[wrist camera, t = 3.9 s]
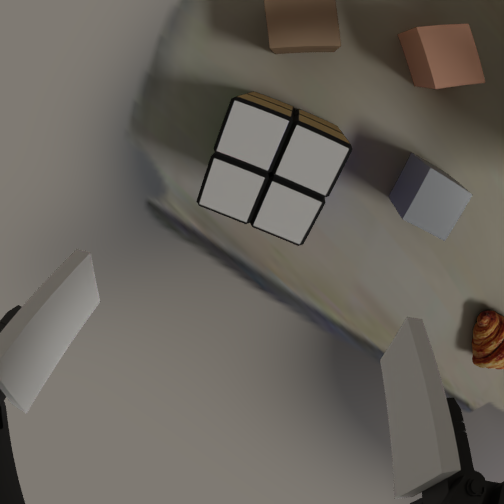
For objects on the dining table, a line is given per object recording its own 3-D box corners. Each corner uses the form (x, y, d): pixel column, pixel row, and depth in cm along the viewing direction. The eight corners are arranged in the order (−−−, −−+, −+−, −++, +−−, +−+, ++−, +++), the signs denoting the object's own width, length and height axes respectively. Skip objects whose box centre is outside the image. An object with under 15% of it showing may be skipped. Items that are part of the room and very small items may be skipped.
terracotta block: (397, 34, 23) (416, 27, 18) (443, 29, 22) (468, 23, 17) (414, 86, 26) (435, 89, 21) (458, 79, 24) (485, 82, 19)
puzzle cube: (302, 204, 36) (301, 249, 27) (221, 171, 35) (194, 206, 27) (339, 126, 30) (355, 146, 22) (251, 90, 30) (231, 94, 21)
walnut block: (269, 3, 24) (262, -12, 19) (327, 1, 23) (332, -15, 18) (275, 54, 27) (269, 48, 22) (333, 51, 26) (340, 45, 21)
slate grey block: (411, 152, 30) (430, 167, 25) (450, 175, 30) (472, 194, 25) (388, 196, 33) (402, 219, 28) (427, 216, 34) (444, 241, 29)
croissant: (506, 339, 46) (532, 353, 38) (480, 378, 46) (505, 396, 39) (481, 284, 40) (517, 298, 33) (449, 334, 41) (482, 355, 33)
